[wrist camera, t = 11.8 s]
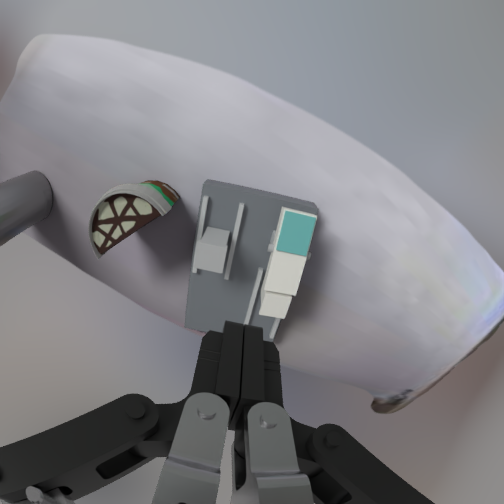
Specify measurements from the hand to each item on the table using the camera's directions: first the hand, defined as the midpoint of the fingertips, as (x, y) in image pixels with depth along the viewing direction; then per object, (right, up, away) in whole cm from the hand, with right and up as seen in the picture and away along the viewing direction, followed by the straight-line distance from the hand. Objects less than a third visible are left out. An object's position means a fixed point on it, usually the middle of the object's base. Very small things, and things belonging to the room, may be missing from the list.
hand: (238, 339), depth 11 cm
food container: (-15, +12, +27) cm, 33 cm away
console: (-1, +1, +31) cm, 31 cm away
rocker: (+5, +4, +22) cm, 23 cm away
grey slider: (-4, +5, +26) cm, 27 cm away
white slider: (+4, -1, +29) cm, 29 cm away
